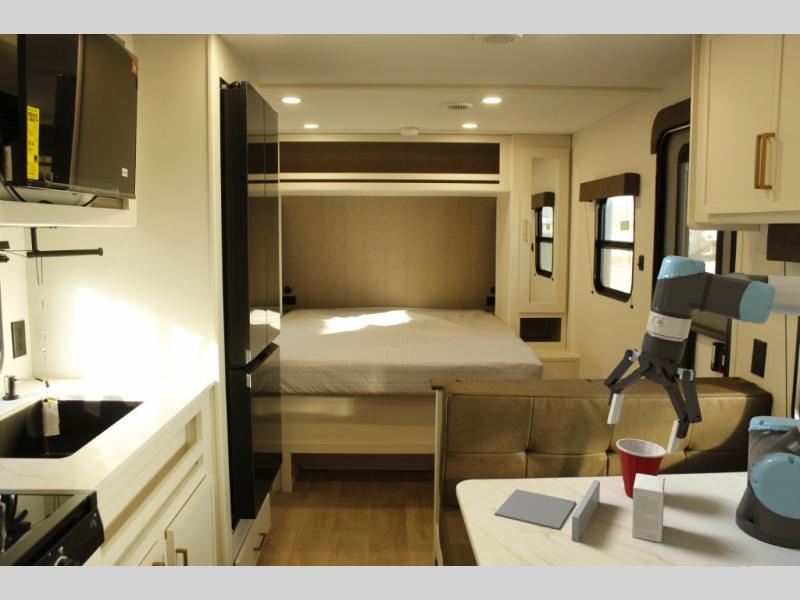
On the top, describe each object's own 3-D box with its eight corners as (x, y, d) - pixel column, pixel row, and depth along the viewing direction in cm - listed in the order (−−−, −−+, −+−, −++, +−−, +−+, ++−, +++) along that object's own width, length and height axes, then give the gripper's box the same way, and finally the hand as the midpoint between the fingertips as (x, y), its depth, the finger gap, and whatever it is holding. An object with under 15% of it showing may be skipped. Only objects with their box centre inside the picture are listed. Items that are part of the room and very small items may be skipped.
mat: (575, 503, 134) (575, 501, 134) (558, 529, 122) (558, 527, 122) (516, 490, 141) (516, 489, 141) (494, 514, 129) (494, 513, 129)
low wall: (599, 502, 135) (599, 480, 134) (577, 541, 118) (578, 517, 117) (594, 500, 135) (594, 479, 135) (571, 540, 118) (572, 516, 118)
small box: (634, 520, 126) (635, 472, 125) (663, 525, 124) (665, 476, 123) (631, 537, 119) (632, 487, 118) (661, 543, 116) (663, 491, 115)
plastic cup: (670, 507, 132) (672, 455, 130) (618, 503, 134) (620, 452, 132) (659, 487, 142) (660, 438, 141) (611, 484, 144) (612, 436, 143)
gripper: (600, 318, 123) (579, 414, 127) (718, 357, 103) (689, 468, 107) (622, 318, 127) (601, 410, 131) (740, 355, 107) (710, 462, 112)
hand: (640, 437), depth 119 cm, fingers open, 13 cm apart
